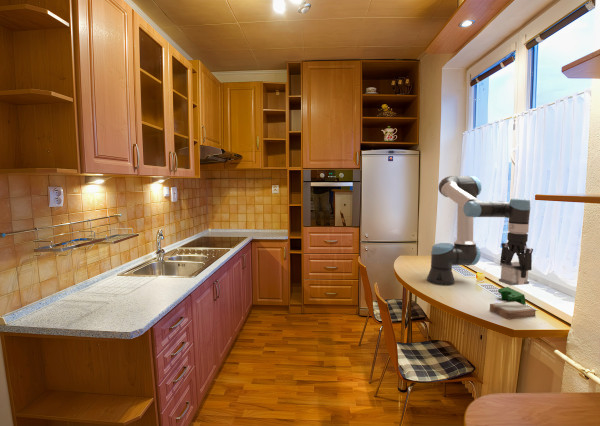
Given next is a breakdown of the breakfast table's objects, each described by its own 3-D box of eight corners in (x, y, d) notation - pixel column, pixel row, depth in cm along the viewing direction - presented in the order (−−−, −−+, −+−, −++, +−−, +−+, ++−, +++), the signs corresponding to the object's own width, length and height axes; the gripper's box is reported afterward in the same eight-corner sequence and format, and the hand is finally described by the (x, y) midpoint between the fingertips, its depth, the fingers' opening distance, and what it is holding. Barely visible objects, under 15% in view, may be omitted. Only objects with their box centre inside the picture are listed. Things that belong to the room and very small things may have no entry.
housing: (498, 281, 140) (500, 262, 139) (516, 279, 142) (518, 261, 141) (510, 285, 134) (511, 266, 133) (528, 284, 136) (530, 265, 135)
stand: (489, 310, 142) (490, 303, 142) (514, 307, 146) (515, 300, 146) (508, 319, 133) (509, 312, 132) (535, 316, 136) (535, 309, 136)
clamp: (502, 306, 157) (494, 289, 159) (513, 304, 157) (505, 286, 160) (516, 307, 145) (508, 288, 148) (528, 304, 145) (520, 285, 148)
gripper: (493, 229, 144) (489, 276, 146) (531, 236, 125) (527, 289, 128) (505, 229, 146) (502, 275, 148) (545, 235, 127) (541, 288, 129)
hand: (513, 281), depth 138 cm, fingers closed on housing, 6 cm apart
